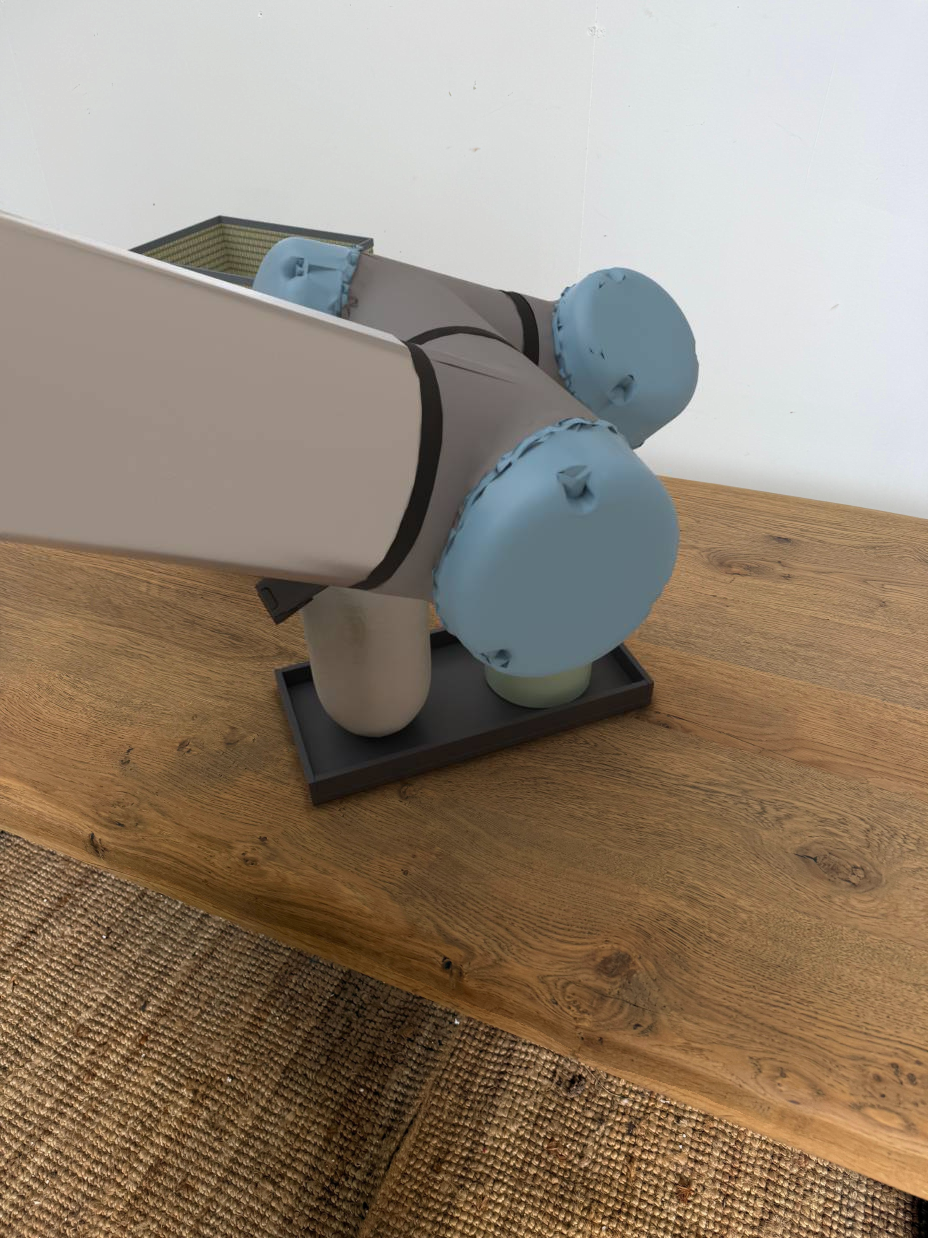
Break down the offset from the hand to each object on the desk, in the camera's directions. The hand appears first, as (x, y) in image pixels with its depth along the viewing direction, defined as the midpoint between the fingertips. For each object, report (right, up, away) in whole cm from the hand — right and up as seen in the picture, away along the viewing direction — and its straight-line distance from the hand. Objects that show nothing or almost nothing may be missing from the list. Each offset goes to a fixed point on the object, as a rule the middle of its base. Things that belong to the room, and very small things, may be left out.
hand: (341, 569), depth 68 cm
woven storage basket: (-9, +4, +30) cm, 32 cm away
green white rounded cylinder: (+2, -13, +8) cm, 15 cm away
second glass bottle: (+17, -9, +12) cm, 22 cm away
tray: (+10, -11, +11) cm, 18 cm away
